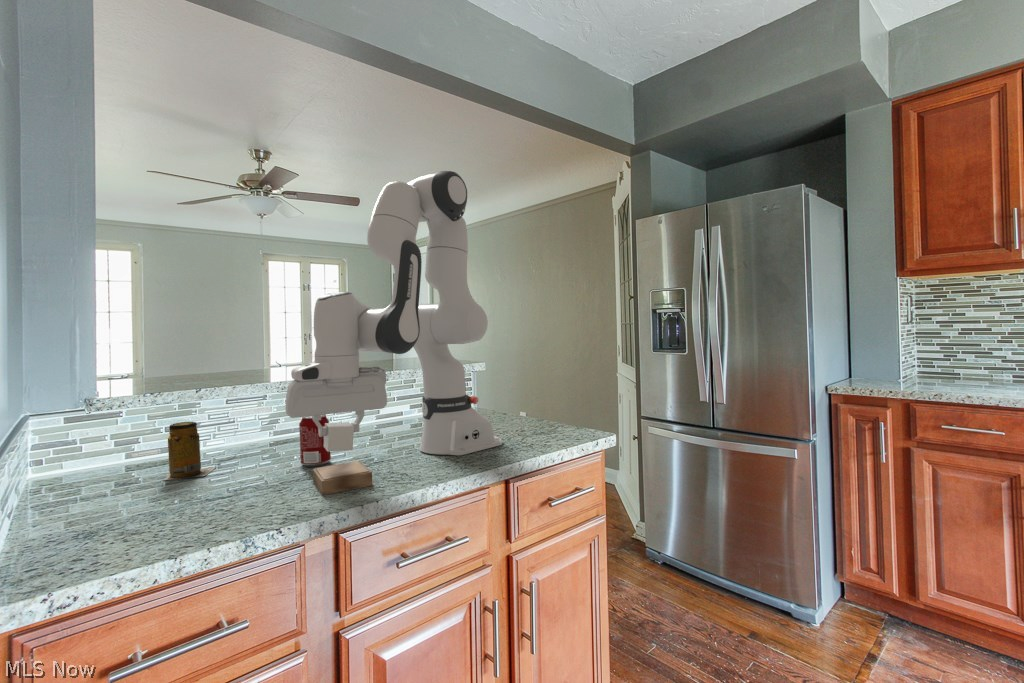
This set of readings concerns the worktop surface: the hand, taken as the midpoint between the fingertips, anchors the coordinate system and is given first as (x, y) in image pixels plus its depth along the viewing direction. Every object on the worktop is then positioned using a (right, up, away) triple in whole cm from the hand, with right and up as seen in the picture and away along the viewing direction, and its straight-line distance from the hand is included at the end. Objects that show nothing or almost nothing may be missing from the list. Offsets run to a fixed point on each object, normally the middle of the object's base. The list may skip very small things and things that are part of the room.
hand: (339, 433), depth 102 cm
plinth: (0, -11, +1) cm, 11 cm away
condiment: (-38, -12, +10) cm, 41 cm away
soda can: (-11, -11, +16) cm, 22 cm away
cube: (0, -3, 0) cm, 3 cm away
